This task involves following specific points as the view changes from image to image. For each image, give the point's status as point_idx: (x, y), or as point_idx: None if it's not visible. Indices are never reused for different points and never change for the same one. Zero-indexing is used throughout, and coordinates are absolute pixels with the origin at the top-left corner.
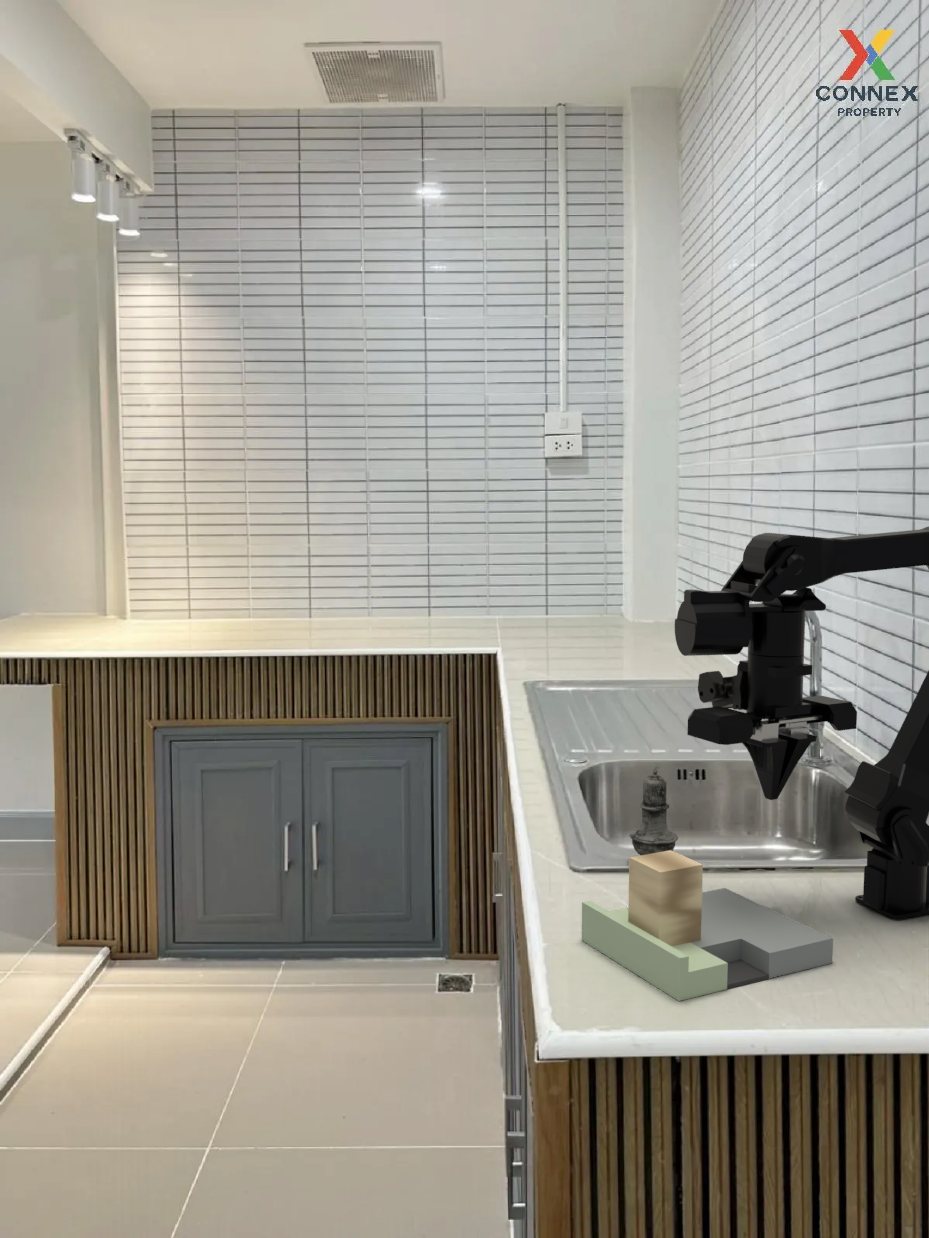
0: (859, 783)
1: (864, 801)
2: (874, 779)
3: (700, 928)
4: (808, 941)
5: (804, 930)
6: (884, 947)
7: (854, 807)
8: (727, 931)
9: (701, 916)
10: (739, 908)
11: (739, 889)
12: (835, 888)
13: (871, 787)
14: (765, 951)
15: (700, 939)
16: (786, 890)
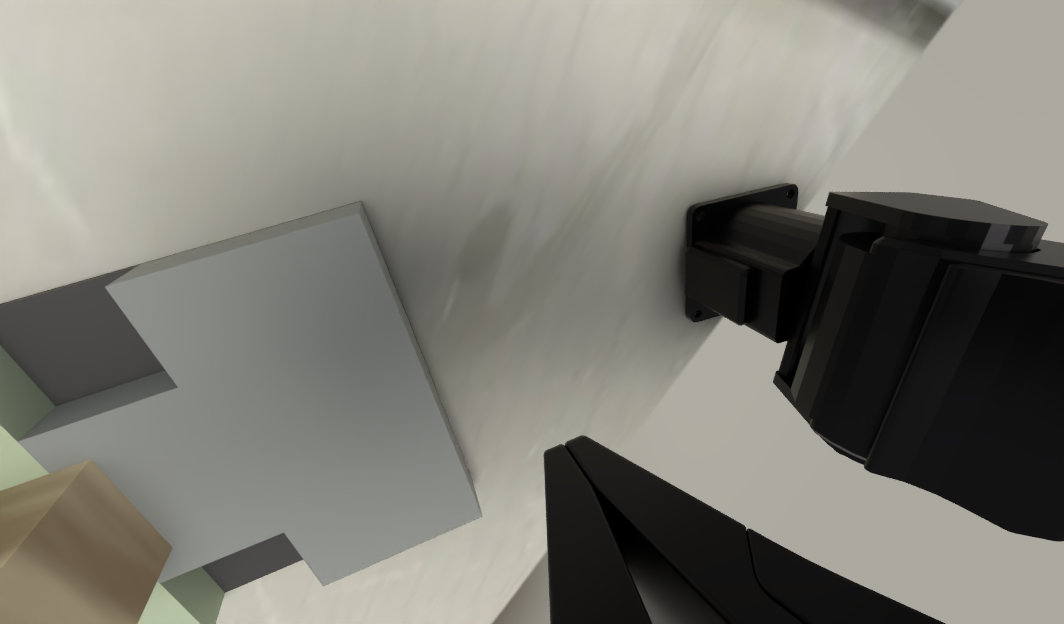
0: (1018, 327)
1: (895, 407)
2: (1034, 433)
3: (158, 572)
4: (427, 532)
5: (445, 486)
6: (593, 422)
7: (883, 311)
8: (261, 500)
9: (147, 601)
10: (345, 369)
11: (471, 39)
12: (705, 109)
13: (984, 412)
14: (318, 577)
15: (170, 549)
16: (592, 89)
